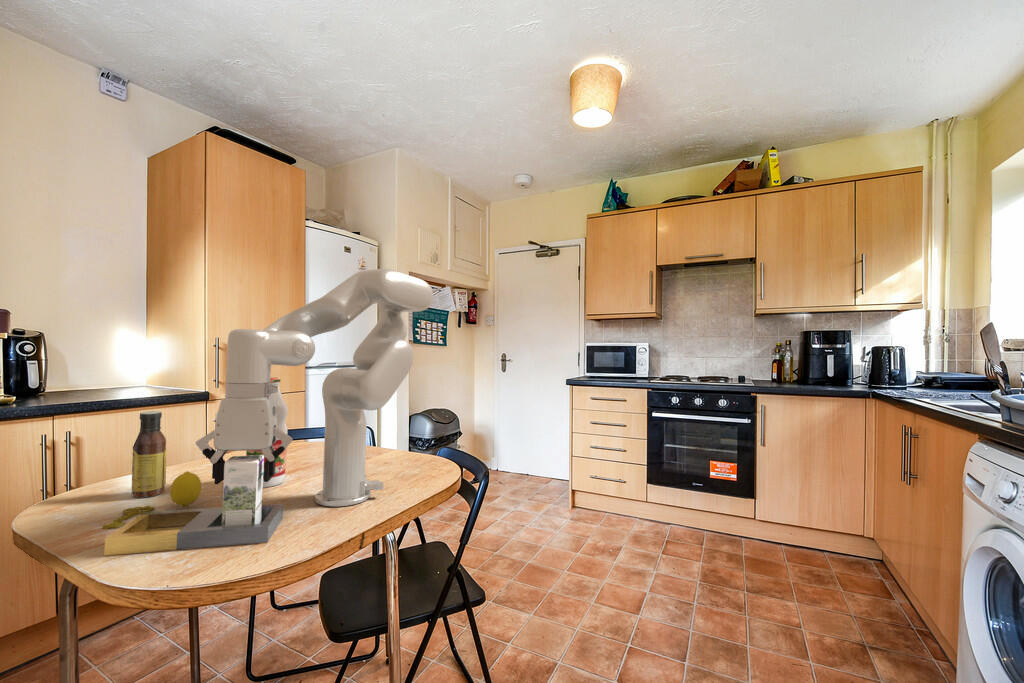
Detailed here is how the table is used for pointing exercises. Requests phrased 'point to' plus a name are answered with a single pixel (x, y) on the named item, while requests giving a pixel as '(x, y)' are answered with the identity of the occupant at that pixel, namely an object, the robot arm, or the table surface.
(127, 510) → the key
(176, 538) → the tray
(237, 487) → the syrup box
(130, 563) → the table surface
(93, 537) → the table surface
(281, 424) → the fruit juice
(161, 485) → the sauce bottle
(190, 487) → the lemon
